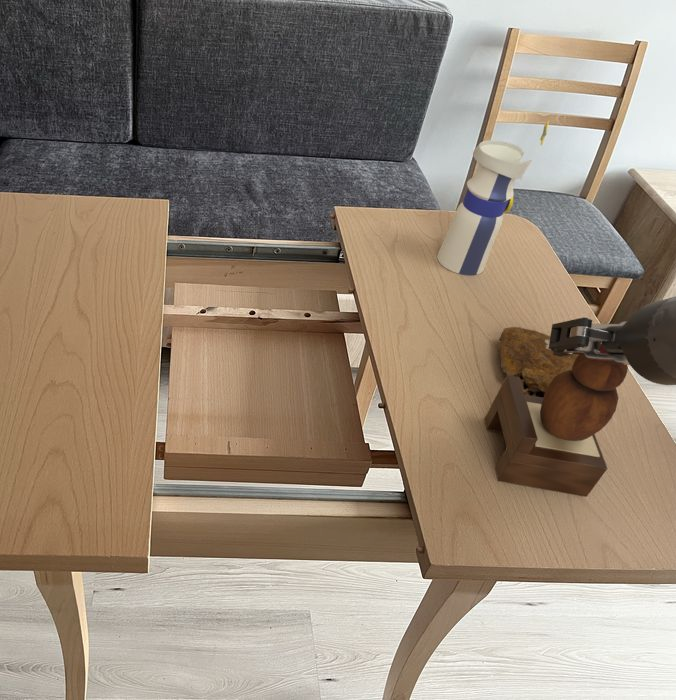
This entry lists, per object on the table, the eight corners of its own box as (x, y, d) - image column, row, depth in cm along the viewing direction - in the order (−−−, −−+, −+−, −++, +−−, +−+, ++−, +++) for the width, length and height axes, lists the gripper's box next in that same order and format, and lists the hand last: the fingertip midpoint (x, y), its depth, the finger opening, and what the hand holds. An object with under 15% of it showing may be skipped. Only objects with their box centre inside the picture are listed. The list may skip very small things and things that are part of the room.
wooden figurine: (586, 417, 80) (653, 316, 71) (597, 454, 76) (670, 351, 66) (527, 405, 81) (585, 303, 71) (534, 441, 77) (597, 337, 67)
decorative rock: (597, 426, 88) (562, 353, 99) (614, 402, 85) (576, 330, 97) (509, 409, 87) (485, 338, 99) (523, 385, 85) (497, 315, 97)
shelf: (565, 432, 86) (592, 389, 81) (586, 497, 78) (619, 453, 73) (484, 418, 86) (506, 374, 81) (497, 481, 78) (524, 437, 74)
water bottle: (476, 248, 118) (536, 103, 101) (493, 277, 111) (560, 128, 95) (429, 245, 117) (482, 99, 101) (444, 274, 110) (503, 123, 94)
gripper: (602, 366, 57) (524, 375, 73) (780, 399, 56) (662, 401, 72) (615, 278, 58) (535, 306, 74) (792, 309, 57) (672, 331, 73)
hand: (598, 353), depth 73 cm, fingers open, 8 cm apart
